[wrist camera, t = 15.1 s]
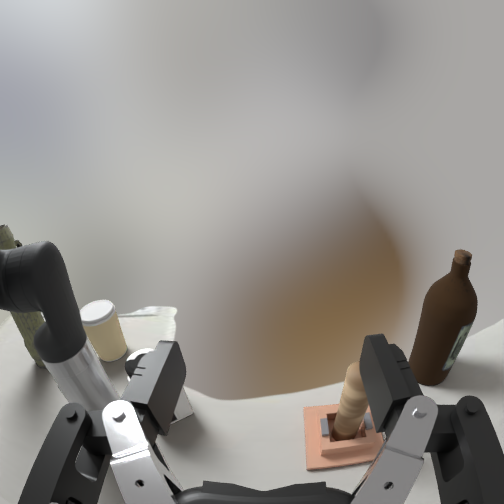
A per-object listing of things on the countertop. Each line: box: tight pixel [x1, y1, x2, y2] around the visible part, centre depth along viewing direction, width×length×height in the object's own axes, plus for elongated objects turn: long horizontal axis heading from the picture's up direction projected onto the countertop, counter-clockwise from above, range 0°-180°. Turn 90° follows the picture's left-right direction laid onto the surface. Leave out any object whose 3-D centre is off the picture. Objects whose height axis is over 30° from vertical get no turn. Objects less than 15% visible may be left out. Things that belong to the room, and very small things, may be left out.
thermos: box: [0, 225, 47, 368], centre depth 45 cm, size 9×12×35 cm
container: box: [125, 349, 193, 424], centre depth 39 cm, size 8×8×13 cm
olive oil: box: [408, 250, 477, 385], centre depth 37 cm, size 11×11×25 cm
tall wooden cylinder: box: [332, 361, 369, 441], centre depth 30 cm, size 4×4×15 cm
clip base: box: [303, 404, 384, 470], centre depth 33 cm, size 12×12×4 cm
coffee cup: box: [80, 300, 127, 362], centre depth 54 cm, size 9×9×12 cm
